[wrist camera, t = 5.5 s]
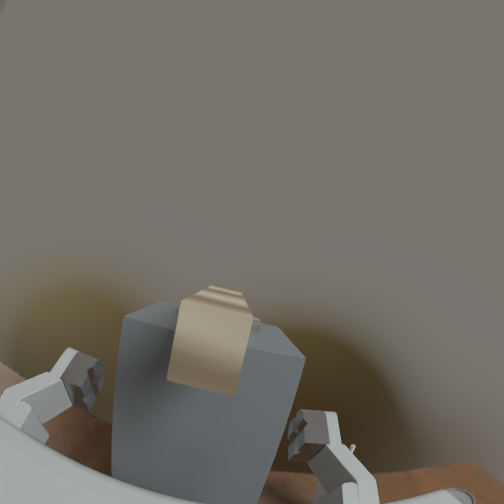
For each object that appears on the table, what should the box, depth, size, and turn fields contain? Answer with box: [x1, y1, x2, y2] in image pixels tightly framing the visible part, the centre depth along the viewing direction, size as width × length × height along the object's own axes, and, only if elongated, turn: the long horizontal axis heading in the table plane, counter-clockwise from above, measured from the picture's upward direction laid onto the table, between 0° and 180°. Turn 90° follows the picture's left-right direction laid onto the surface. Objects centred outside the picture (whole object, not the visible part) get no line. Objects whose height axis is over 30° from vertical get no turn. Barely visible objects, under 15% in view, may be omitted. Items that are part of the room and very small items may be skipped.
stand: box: [111, 301, 306, 504], centre depth 22 cm, size 12×12×26 cm
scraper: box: [167, 285, 262, 396], centre depth 18 cm, size 17×7×3 cm, turn 3°
